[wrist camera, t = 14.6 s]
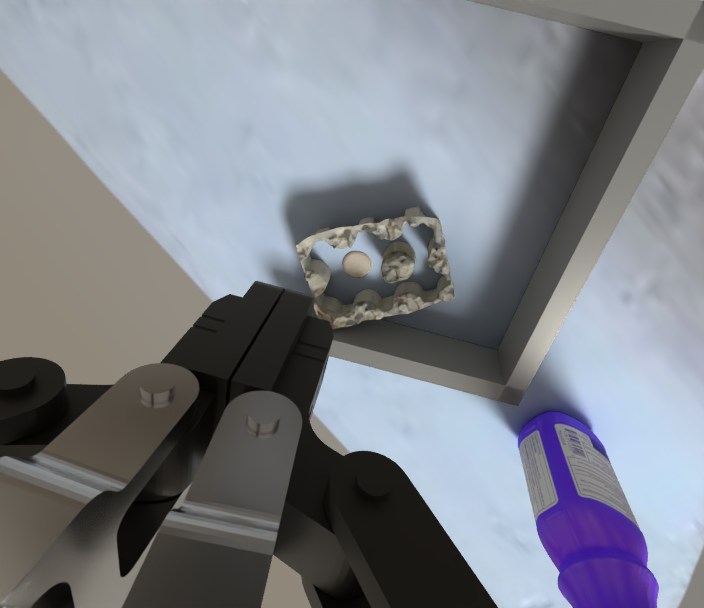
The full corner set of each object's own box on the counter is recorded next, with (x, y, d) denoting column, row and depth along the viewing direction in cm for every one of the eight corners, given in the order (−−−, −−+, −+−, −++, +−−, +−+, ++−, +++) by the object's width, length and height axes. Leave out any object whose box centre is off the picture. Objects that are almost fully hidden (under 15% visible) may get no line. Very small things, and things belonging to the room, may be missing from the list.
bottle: (501, 431, 40) (546, 658, 25) (549, 395, 37) (632, 624, 22) (561, 470, 41) (638, 709, 26) (611, 437, 38) (731, 682, 23)
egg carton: (324, 307, 37) (313, 334, 33) (300, 222, 33) (285, 241, 30) (454, 291, 34) (457, 318, 30) (442, 197, 31) (444, 215, 27)
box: (373, -57, 24) (363, -80, 20) (685, 17, 24) (735, 9, 20) (305, 315, 37) (290, 345, 33) (508, 369, 36) (517, 406, 32)
